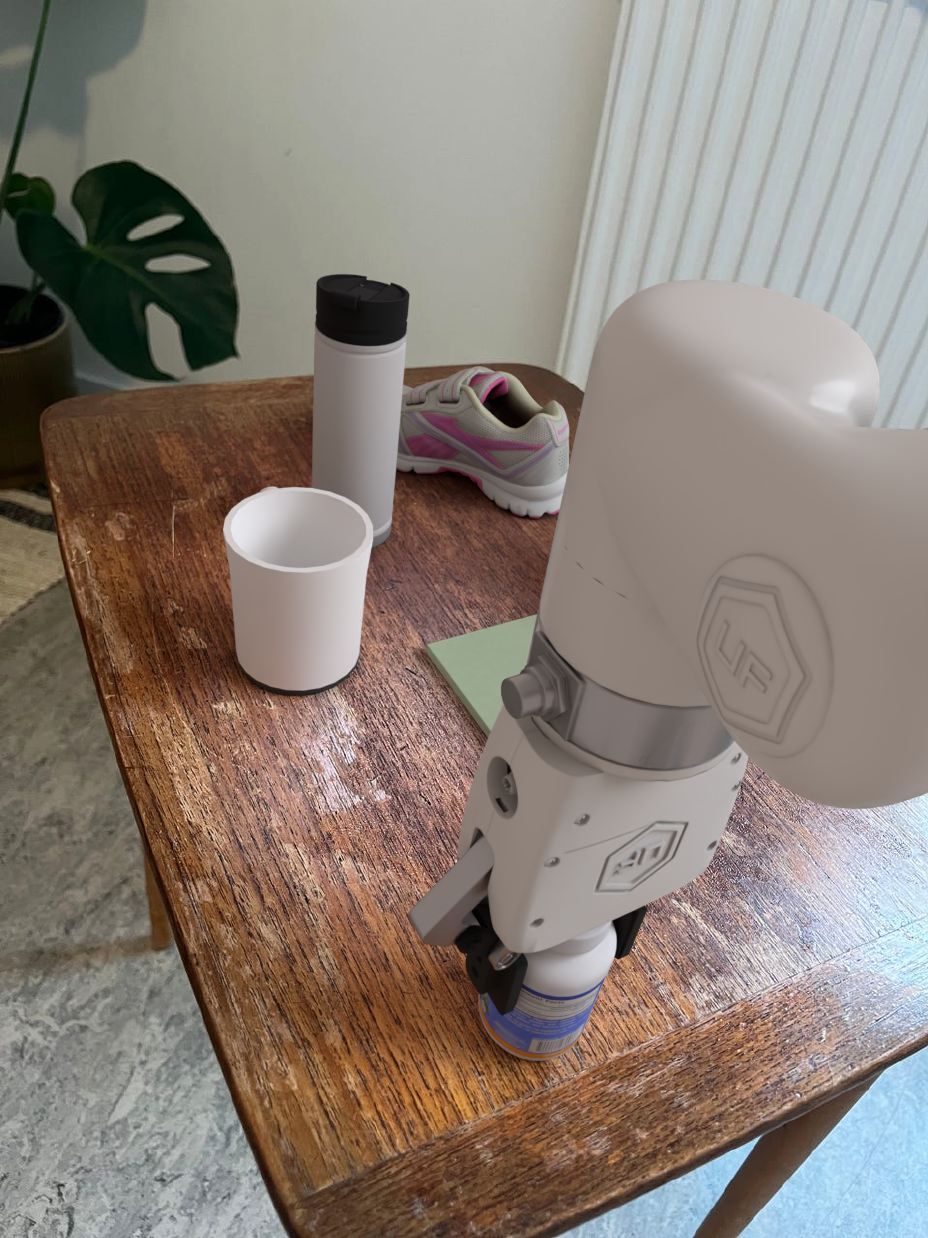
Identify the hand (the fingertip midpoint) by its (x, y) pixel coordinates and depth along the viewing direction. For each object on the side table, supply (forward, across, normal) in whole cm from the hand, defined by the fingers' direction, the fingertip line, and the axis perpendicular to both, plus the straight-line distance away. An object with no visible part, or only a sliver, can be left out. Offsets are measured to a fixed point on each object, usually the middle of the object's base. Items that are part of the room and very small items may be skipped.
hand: (548, 955), depth 44 cm
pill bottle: (+5, 0, 0) cm, 5 cm away
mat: (+5, +13, +18) cm, 23 cm away
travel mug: (+5, +8, +40) cm, 41 cm away
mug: (+5, -1, +29) cm, 29 cm away
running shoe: (+5, +21, +46) cm, 51 cm away
